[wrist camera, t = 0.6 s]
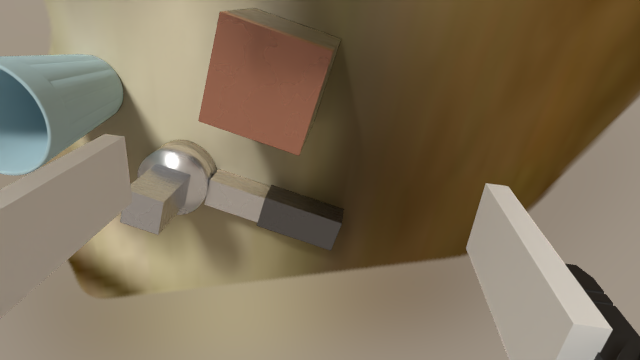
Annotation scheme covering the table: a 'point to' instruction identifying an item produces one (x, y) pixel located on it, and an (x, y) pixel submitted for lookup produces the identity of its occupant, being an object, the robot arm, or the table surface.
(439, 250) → the table surface
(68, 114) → the cup
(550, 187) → the table surface
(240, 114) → the red-topped grey block
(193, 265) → the table surface
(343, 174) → the table surface
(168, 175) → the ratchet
